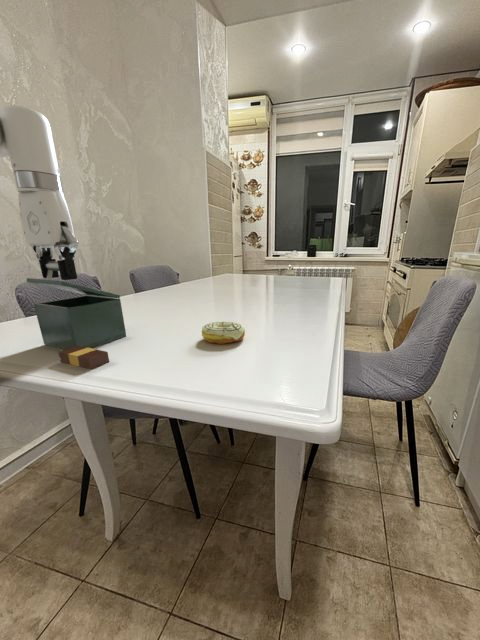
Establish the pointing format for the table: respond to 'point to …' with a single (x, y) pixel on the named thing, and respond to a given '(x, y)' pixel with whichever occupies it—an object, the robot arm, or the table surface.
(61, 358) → the chocolate
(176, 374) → the table surface
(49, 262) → the bin lid
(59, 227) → the robot arm
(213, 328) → the decorated donut
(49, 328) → the bin
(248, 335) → the table surface
